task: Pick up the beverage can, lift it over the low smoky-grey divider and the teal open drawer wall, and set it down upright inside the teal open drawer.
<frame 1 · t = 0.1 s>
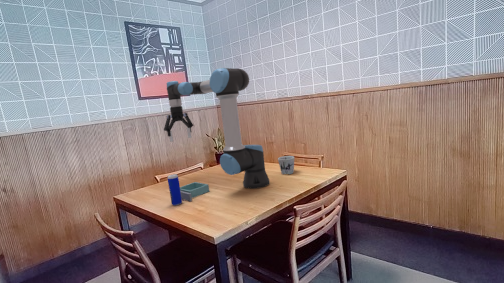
hand: (180, 139, 178), 28 cm above the table, fingers open, 13 cm apart
mug: (287, 172, 177), on the table
teal open drawer: (193, 193, 156), on the table
divider: (182, 198, 148), on the table
beverage can: (177, 204, 141), on the table
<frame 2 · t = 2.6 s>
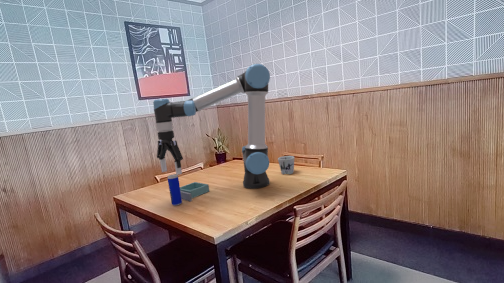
hand: (171, 173, 139), 16 cm above the table, fingers open, 13 cm apart
nothing on the table moved.
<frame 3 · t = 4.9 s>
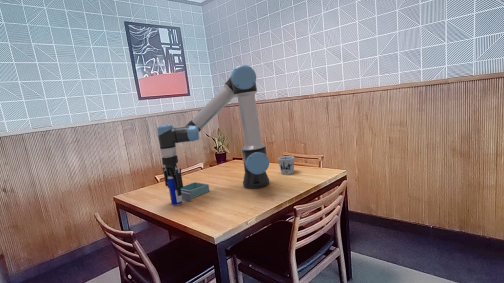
hand: (176, 200, 141), 2 cm above the table, fingers closed on beverage can, 5 cm apart
beverage can: (177, 204, 141), on the table, touching gripper
everything else where it was.
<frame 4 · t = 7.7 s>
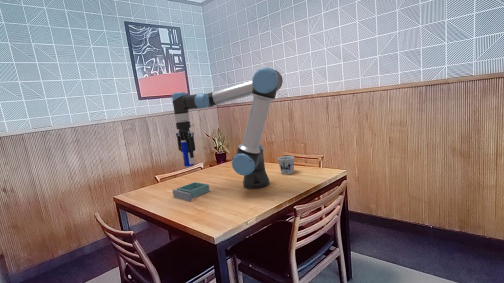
hand: (188, 163, 153), 17 cm above the table, fingers closed on beverage can, 5 cm apart
beverage can: (189, 166, 153), point 15 cm above the table, touching gripper
everything else where it was.
when the fingers open (4 cm above the table, at t = 10.7 s): beverage can drops 1 cm, resting on teal open drawer.
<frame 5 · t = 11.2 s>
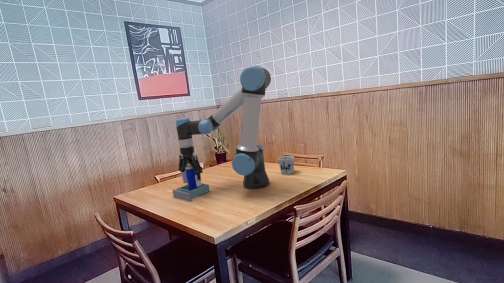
hand: (192, 184, 155), 5 cm above the table, fingers open, 12 cm apart
beverage can: (193, 192, 155), resting on teal open drawer
everything else where it was.
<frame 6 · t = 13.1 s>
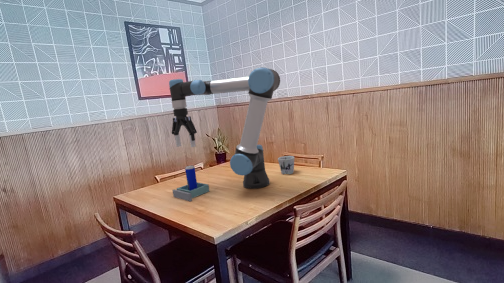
hand: (185, 146, 154), 26 cm above the table, fingers open, 13 cm apart
nothing on the table moved.
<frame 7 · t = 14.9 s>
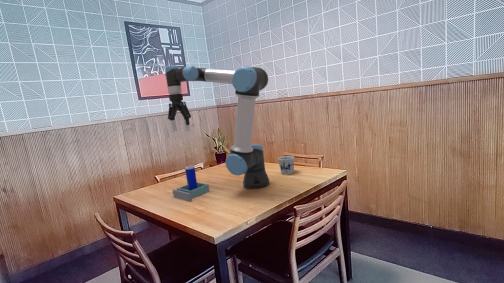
hand: (181, 131, 161), 35 cm above the table, fingers open, 13 cm apart
nothing on the table moved.
at the end: beverage can inside the target area on the teal open drawer (0.1 cm from its centre), point 0.3 cm above the teal open drawer's base; beverage can tilted 0°; beverage can touching teal open drawer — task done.
